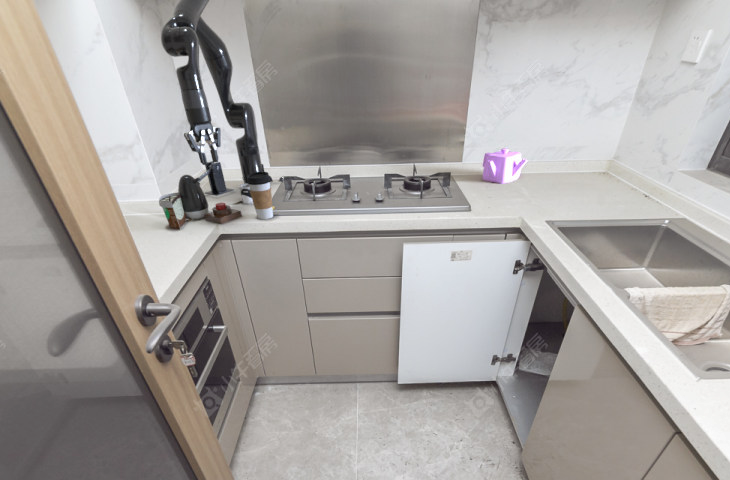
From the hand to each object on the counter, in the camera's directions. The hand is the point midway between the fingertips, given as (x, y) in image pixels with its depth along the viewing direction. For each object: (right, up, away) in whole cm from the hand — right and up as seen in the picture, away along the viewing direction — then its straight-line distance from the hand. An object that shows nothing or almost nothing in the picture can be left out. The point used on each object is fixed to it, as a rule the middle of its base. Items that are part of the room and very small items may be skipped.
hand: (210, 163), depth 148 cm
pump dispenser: (-10, -14, +14) cm, 22 cm away
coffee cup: (+17, -15, +12) cm, 25 cm away
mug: (+8, -3, +28) cm, 29 cm away
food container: (-16, -19, +8) cm, 26 cm away
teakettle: (+116, +14, +42) cm, 124 cm away
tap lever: (-14, +10, +32) cm, 36 cm away
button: (+1, -12, +10) cm, 16 cm away
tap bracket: (-11, +6, +40) cm, 42 cm away
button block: (+1, -15, +12) cm, 19 cm away
